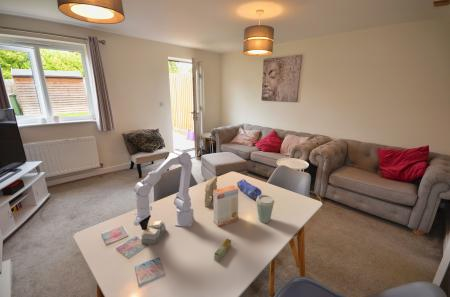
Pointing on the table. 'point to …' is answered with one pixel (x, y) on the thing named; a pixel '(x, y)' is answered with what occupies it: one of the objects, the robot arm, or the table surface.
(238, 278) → the table surface
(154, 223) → the breaker
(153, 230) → the breaker
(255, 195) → the pencil case
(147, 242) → the breaker panel
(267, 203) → the disposable coffee cup
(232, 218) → the cracker box
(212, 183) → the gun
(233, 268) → the table surface
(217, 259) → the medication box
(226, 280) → the table surface
